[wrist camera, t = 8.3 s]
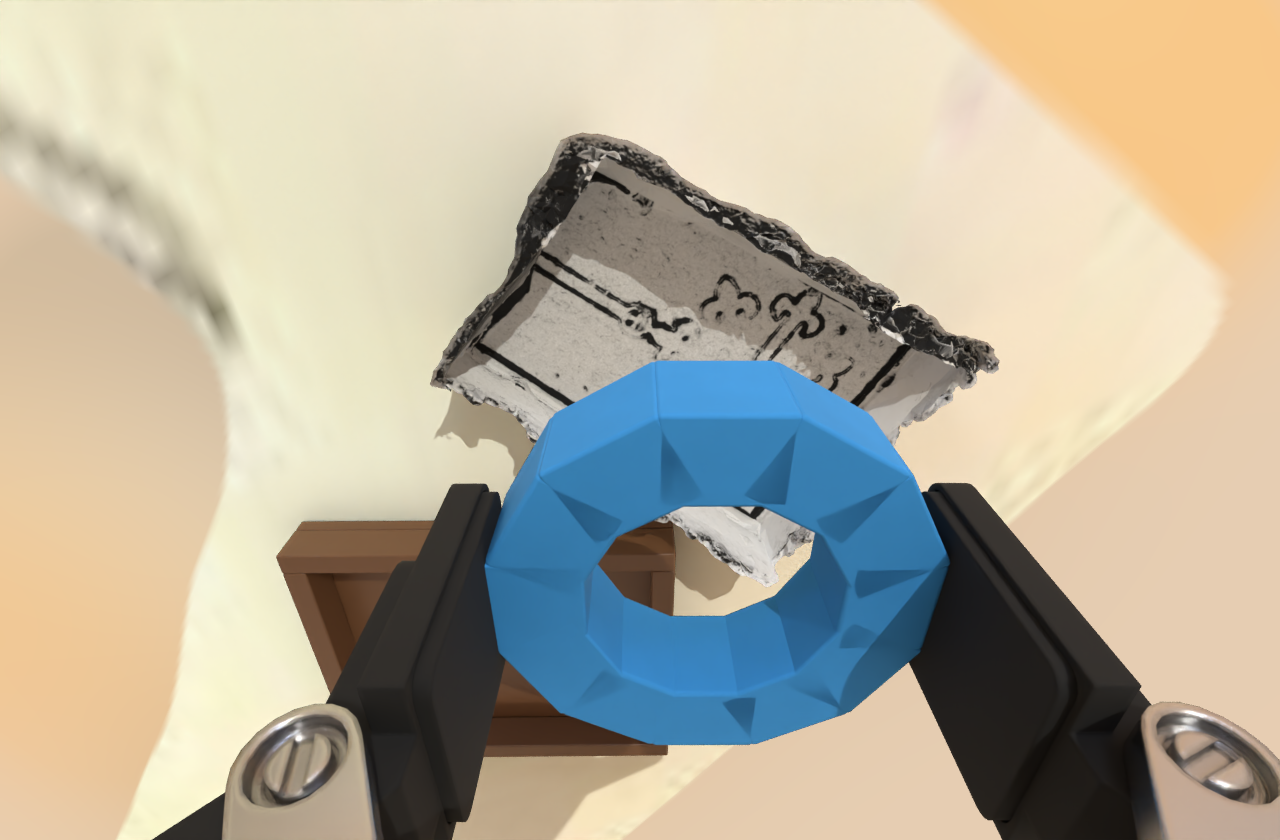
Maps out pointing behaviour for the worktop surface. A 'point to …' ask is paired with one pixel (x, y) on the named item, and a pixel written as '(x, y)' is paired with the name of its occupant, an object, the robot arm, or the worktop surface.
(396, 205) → the worktop surface
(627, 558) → the tray
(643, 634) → the ring
